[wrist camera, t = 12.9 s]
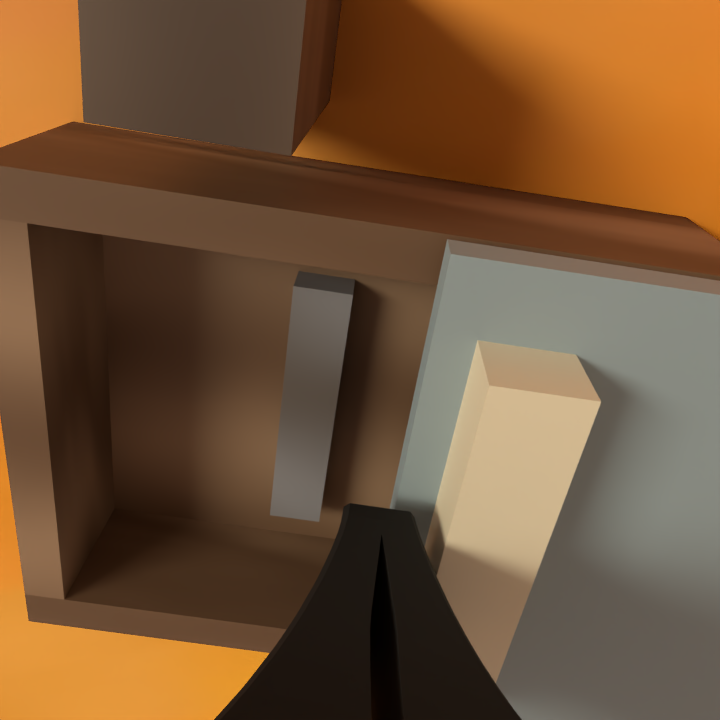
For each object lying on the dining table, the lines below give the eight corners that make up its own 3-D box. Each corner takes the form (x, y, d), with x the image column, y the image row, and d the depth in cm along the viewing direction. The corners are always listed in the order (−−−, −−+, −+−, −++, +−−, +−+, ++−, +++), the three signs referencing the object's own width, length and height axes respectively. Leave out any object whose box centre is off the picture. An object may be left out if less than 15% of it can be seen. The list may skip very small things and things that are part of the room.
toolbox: (549, 569, 22) (584, 694, 18) (96, 507, 21) (28, 620, 17) (685, 217, 16) (782, 285, 12) (72, 121, 16) (-35, 160, 12)
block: (347, -50, 14) (315, -92, 8) (329, 100, 15) (290, 156, 10) (205, -75, 14) (71, -134, 8) (200, 78, 15) (83, 122, 9)
